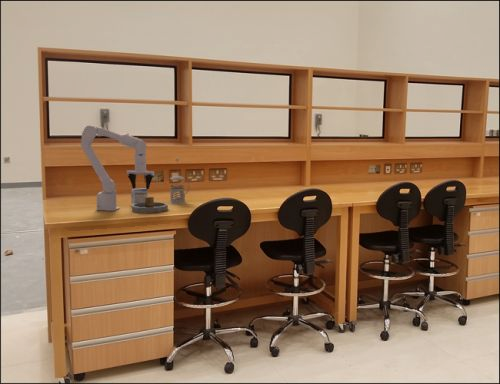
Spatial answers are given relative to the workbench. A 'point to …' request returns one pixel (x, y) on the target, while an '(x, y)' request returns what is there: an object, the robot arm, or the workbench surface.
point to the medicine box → (138, 195)
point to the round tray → (141, 208)
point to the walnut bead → (149, 202)
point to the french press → (177, 188)
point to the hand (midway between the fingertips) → (140, 188)
